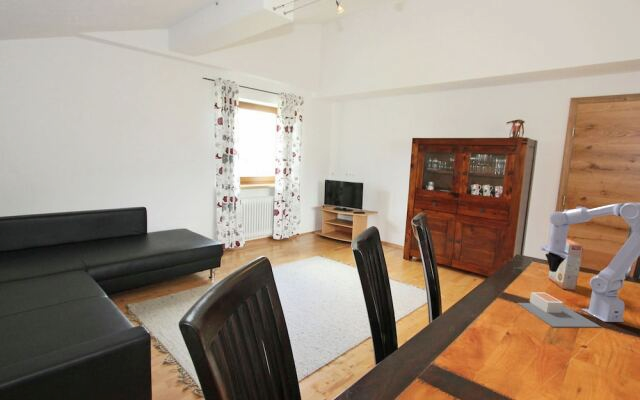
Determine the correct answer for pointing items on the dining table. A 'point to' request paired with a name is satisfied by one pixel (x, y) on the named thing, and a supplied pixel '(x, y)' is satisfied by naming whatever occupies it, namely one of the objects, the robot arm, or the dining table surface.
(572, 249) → the cracker box
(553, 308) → the marked block
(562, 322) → the mat
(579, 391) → the dining table surface
